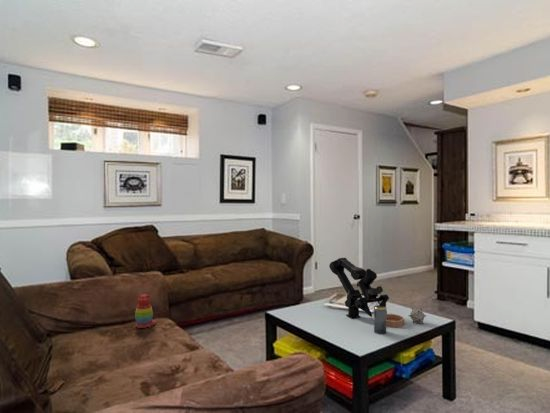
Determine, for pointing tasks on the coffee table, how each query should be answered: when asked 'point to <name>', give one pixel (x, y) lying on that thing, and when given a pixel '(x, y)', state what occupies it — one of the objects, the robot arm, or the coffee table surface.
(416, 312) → the grey spiky ball
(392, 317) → the bowl
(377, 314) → the canister
